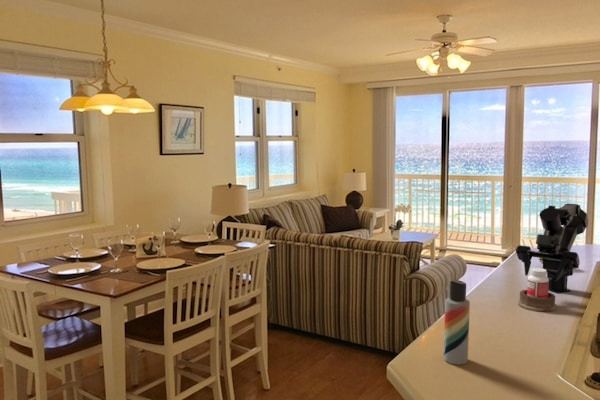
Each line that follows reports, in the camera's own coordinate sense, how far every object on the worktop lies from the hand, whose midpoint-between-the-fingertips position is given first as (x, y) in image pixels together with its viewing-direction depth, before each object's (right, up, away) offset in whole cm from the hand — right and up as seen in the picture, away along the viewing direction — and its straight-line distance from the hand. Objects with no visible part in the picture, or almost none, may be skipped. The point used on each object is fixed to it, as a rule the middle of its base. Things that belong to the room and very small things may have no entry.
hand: (540, 277), depth 162 cm
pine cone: (+29, -3, +51) cm, 59 cm away
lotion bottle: (-40, -14, -40) cm, 59 cm away
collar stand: (-2, -9, -1) cm, 9 cm away
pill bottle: (-2, -8, -1) cm, 8 cm away
